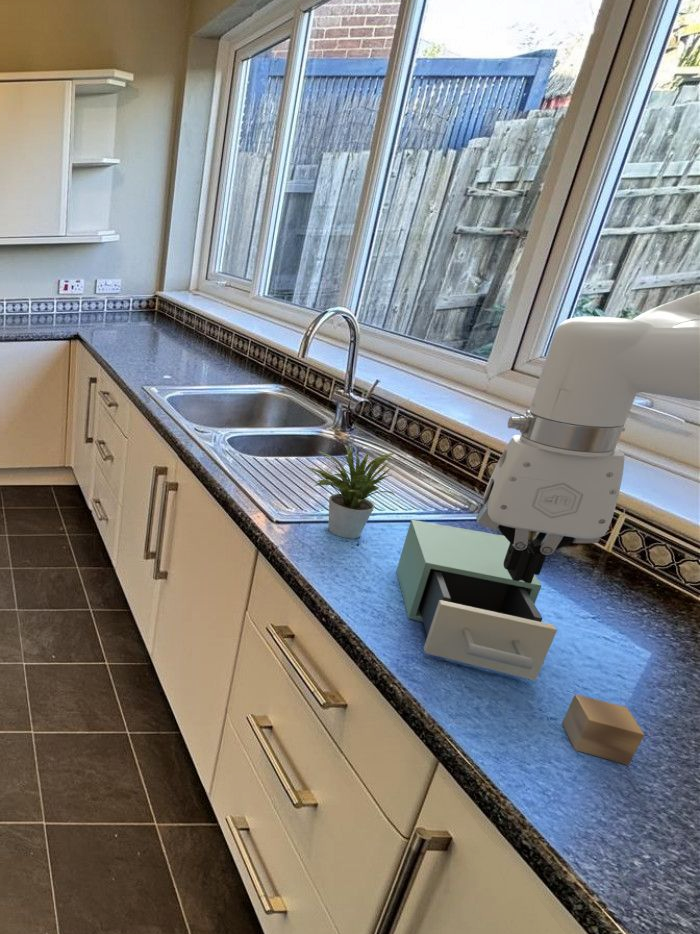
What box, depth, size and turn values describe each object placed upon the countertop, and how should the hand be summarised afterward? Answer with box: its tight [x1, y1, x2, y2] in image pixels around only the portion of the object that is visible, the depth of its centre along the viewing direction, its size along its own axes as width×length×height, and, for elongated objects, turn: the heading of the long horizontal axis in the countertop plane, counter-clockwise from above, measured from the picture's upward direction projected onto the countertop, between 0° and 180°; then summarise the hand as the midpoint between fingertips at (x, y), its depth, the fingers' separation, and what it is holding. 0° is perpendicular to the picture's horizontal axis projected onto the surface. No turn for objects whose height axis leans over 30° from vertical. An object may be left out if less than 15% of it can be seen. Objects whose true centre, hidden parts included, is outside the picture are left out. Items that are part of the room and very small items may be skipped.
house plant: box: [308, 444, 396, 540], centre depth 113 cm, size 14×14×16 cm
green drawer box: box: [396, 519, 543, 623], centre depth 92 cm, size 15×13×10 cm
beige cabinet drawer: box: [419, 569, 558, 682], centre depth 82 cm, size 18×11×8 cm, turn 152°
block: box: [561, 693, 645, 766], centre depth 68 cm, size 4×4×4 cm
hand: (518, 575), depth 74 cm, fingers closed
